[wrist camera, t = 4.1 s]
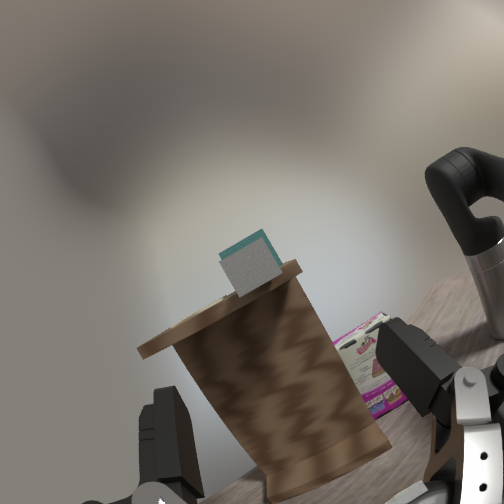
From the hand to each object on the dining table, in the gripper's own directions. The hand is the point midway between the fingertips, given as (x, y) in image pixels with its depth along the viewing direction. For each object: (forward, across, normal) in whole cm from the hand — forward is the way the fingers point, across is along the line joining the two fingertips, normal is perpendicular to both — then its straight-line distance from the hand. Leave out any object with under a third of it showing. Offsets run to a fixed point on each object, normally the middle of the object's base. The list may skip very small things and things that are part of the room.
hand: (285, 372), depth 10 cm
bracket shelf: (+7, -7, +38) cm, 39 cm away
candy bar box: (+15, -23, +37) cm, 46 cm away
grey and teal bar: (+18, -3, +6) cm, 19 cm away
